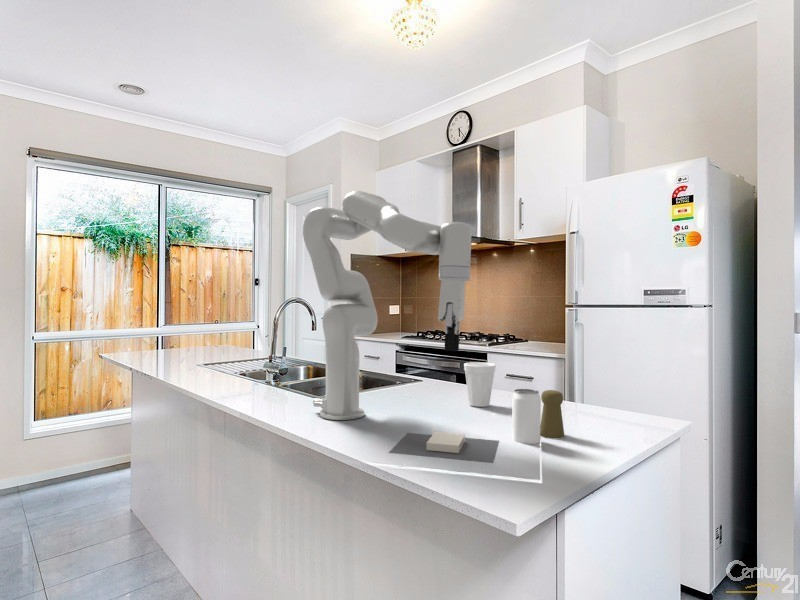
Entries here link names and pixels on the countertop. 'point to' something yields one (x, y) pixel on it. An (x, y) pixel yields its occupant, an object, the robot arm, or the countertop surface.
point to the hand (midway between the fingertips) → (451, 350)
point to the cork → (552, 415)
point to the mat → (469, 451)
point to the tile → (446, 442)
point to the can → (526, 416)
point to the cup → (479, 382)
